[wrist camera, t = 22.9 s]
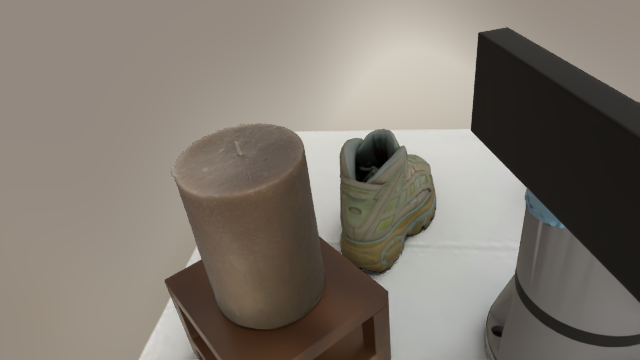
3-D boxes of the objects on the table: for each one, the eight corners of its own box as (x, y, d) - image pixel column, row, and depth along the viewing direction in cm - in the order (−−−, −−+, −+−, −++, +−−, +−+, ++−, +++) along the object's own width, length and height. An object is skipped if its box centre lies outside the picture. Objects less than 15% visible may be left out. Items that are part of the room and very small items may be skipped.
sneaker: (470, 201, 66) (466, 97, 58) (380, 290, 56) (361, 179, 48) (404, 179, 73) (393, 85, 66) (313, 255, 63) (287, 154, 55)
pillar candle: (343, 303, 41) (324, 151, 33) (229, 349, 39) (177, 197, 30) (302, 234, 49) (278, 96, 40) (204, 269, 46) (157, 129, 38)
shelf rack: (301, 281, 58) (287, 211, 52) (391, 366, 48) (388, 291, 42) (193, 350, 52) (163, 279, 46) (270, 465, 42) (246, 393, 36)
